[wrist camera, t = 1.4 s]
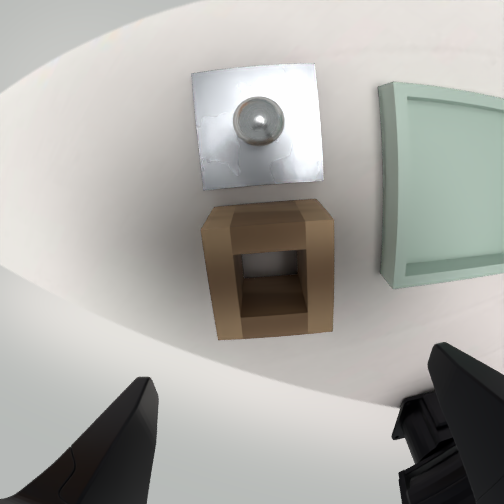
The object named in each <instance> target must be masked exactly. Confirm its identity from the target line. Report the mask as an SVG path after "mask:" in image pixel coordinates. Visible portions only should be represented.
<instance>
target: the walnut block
mask: <svg viewBox="0 0 504 504" xmlns="http://www.w3.org/2000/svg"><path fill="white" fill-rule="evenodd" d="M201 236H202V243H203V250H204V257H205V263H206V270H207V276H208V283H209V289H210V295H211V301H212V307H213V313H214V319H215V325H216V330H217V336H218V340H232V339H250V338H265V337H279V336H291V335H302V334H313V333H322V332H332V331H333V308H334V219H333V218H332V216H331V215H330V214H329V213H328V212H327V211H326V209H325V208H324V207H323V206H322V205H321V204H320V203H319V201H318V200H317V199H307V200H292V201H278V202H265V203H253V204H242V205H230V206H220V207H214V208H213V209H212V211H211V213H210V215H209V216H208V218H207V220H206V221H205V223H204V225H203V227H202V228H201ZM289 250H297V268H298V274H293V275H281V276H268V277H255V278H244V273H243V264H242V255H241V254H251V253H264V252H276V251H289Z"/></svg>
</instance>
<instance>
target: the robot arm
mask: <svg viewBox="0 0 504 504" xmlns="http://www.w3.org/2000/svg"><path fill="white" fill-rule="evenodd" d="M428 370H429V373H430V376H431V379H432V382H433V385H434V388H435V391H434V392H430V393H426V394H422V395H418V396H414V397H409V398H406V399H404V400H403V402H402V405H401V408H400V411H399V414H398V418H397V421H396V424H395V427H394V430H393V433H392V439H393V440H397V439H401V438H405V439H406V441H407V444H408V447H409V449H410V452H411V455H412V457H413V460H414V463H415V465H413V466H412V467H410V468H408V469H406V470H403V471H401V472H399V486H400V493H401V499H402V504H504V375H503V374H501V373H500V372H498V371H496V370H494V369H493V368H491V367H489V366H487V365H485V364H484V363H482V362H480V361H478V360H477V359H475V358H473V357H471V356H470V355H468V354H466V353H464V352H462V351H461V350H459V349H457V348H455V347H453V346H452V345H450V344H448V343H446V342H442V343H438V344H435V345H434V346H433V348H432V351H431V354H430V357H429V360H428ZM158 400H159V399H158V394H157V391H156V389H155V386H154V384H153V381H152V380H151V378H150V377H137V378H136V379H135V380H134V381H133V382H132V383H131V384H130V385H129V386H128V387H127V388H126V390H124V391H123V392H122V393H121V394H120V396H119V397H118V398H117V399H116V400H115V401H114V402H113V403H112V404H111V405H110V406H109V407H108V408H107V409H106V410H105V411H104V412H103V413H102V414H101V415H100V416H99V417H98V418H97V419H96V420H95V421H94V423H92V425H91V426H90V427H89V428H88V429H87V430H86V431H85V432H84V433H83V434H82V435H81V436H80V437H79V438H78V439H77V440H76V441H75V442H74V443H73V444H72V445H71V447H69V448H68V449H67V450H66V451H65V452H64V453H63V454H62V455H61V456H60V457H59V458H58V459H57V460H56V461H55V462H54V463H53V464H52V465H51V466H50V467H48V468H47V469H46V470H45V471H44V472H43V473H41V474H40V475H39V476H38V477H37V478H35V479H34V480H33V481H32V482H30V483H29V484H28V485H27V486H25V487H24V488H23V489H22V490H20V491H19V492H18V493H16V494H14V495H13V496H10V497H8V498H4V499H0V504H147V497H148V490H149V483H150V477H151V471H152V464H153V459H154V453H155V446H156V437H157V436H156V435H157V419H158V402H159V401H158Z"/></svg>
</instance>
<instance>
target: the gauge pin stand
mask: <svg viewBox="0 0 504 504" xmlns="http://www.w3.org/2000/svg"><path fill="white" fill-rule="evenodd" d="M191 76H192V87H193V98H194V108H195V118H196V128H197V137H198V147H199V156H200V165H201V173H202V182H203V190H213V189H223V188H233V187H244V186H256V185H268V184H281V183H296V182H312V181H324V173H323V156H322V140H321V126H320V114H319V102H318V92H317V82H316V72H315V63H305V64H278V65H262V66H249V67H239V68H229V69H221V70H213V71H206V72H199V73H192V74H191Z"/></svg>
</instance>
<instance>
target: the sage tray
mask: <svg viewBox="0 0 504 504" xmlns="http://www.w3.org/2000/svg"><path fill="white" fill-rule="evenodd" d="M378 92H379V103H380V117H381V132H382V155H383V230H382V253H381V270H380V274H381V275H382V276H383V277H384V279H385V280H386V281H387V282H388V284H389V285H390V286H391V287H392V289H398V288H406V287H414V286H421V285H429V284H436V283H443V282H450V281H457V280H464V279H470V278H477V277H483V276H489V275H495V274H501V273H504V99H503V98H498V97H494V96H489V95H484V94H479V93H474V92H469V91H463V90H457V89H451V88H445V87H437V86H430V85H422V84H413V83H402V82H391V83H388V84H385V85H382V86H379V87H378Z"/></svg>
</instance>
